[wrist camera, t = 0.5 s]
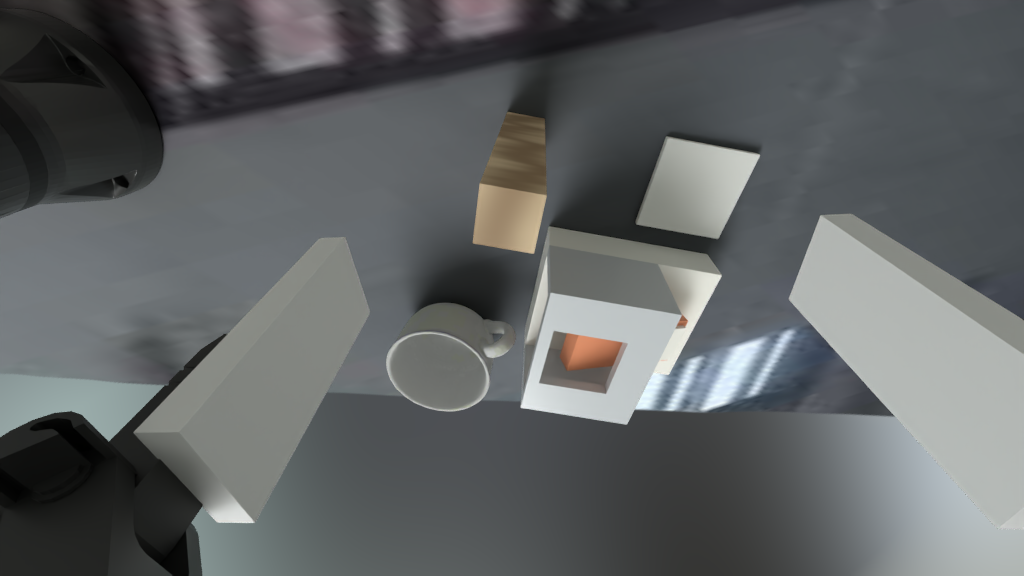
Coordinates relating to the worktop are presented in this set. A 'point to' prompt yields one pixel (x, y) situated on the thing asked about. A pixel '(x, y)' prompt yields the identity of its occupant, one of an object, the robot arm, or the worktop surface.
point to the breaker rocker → (605, 349)
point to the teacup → (446, 356)
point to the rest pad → (695, 187)
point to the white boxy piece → (608, 319)
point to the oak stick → (513, 186)
